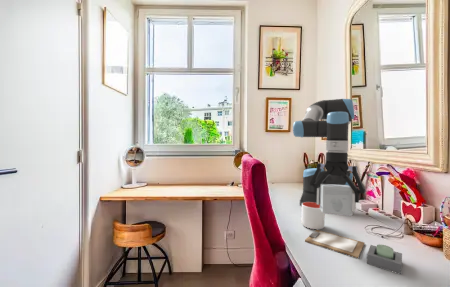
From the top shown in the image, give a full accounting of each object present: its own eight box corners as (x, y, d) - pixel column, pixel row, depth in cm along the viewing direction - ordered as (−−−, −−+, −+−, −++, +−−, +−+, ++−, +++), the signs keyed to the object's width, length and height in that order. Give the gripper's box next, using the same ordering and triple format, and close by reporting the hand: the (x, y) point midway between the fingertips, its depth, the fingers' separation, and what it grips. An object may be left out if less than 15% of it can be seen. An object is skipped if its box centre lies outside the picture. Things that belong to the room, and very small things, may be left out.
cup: (326, 231, 93) (327, 209, 93) (303, 229, 95) (303, 207, 95) (321, 223, 103) (321, 202, 103) (299, 221, 105) (300, 201, 105)
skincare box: (347, 210, 85) (348, 184, 85) (352, 216, 79) (353, 188, 78) (319, 208, 87) (319, 182, 87) (322, 213, 81) (322, 186, 81)
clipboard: (304, 241, 84) (304, 238, 84) (316, 230, 94) (316, 228, 94) (358, 258, 72) (358, 255, 72) (364, 244, 83) (364, 241, 83)
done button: (377, 252, 73) (377, 243, 73) (393, 257, 70) (393, 247, 70) (375, 257, 69) (376, 247, 69) (392, 263, 66) (393, 252, 66)
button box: (370, 253, 76) (370, 244, 76) (401, 262, 70) (402, 253, 70) (366, 263, 69) (367, 254, 69) (401, 274, 64) (401, 264, 64)
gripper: (302, 150, 88) (301, 202, 88) (372, 153, 72) (371, 217, 72) (308, 150, 93) (307, 199, 94) (375, 153, 78) (373, 211, 78)
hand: (335, 207), depth 83 cm, fingers closed on skincare box, 12 cm apart
